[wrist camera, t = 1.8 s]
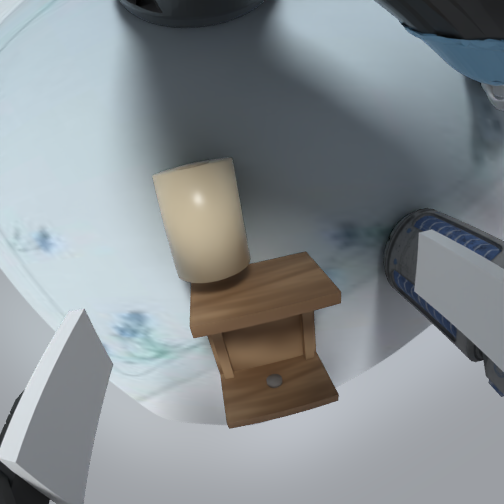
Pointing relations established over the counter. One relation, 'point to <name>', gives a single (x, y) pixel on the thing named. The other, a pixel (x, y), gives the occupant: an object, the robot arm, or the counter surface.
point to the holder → (266, 337)
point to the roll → (203, 220)
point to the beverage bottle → (405, 263)
